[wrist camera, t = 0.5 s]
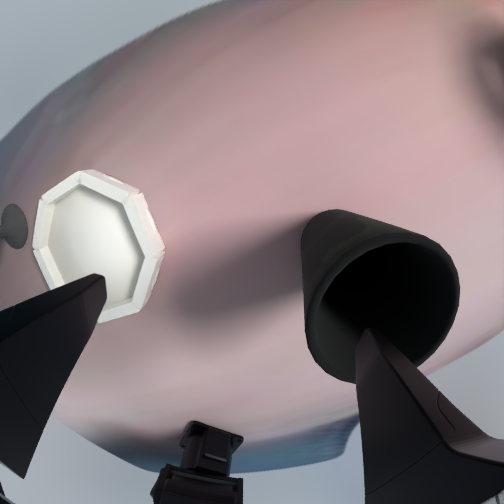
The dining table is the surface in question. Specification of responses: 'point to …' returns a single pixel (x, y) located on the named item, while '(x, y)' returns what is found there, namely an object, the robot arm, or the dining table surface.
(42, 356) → the robot arm
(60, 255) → the dish
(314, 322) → the cup
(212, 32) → the dining table surface
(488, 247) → the dining table surface
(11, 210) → the sundae
